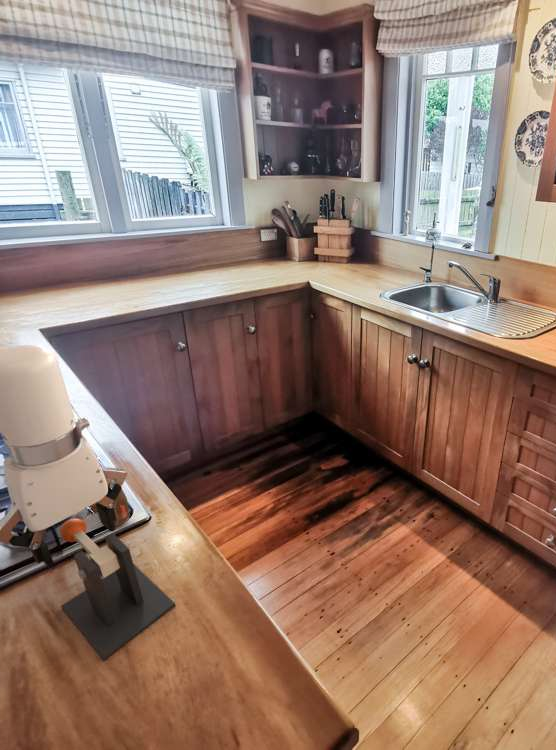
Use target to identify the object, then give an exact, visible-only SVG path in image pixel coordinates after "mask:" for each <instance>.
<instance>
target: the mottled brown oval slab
mask: <svg viewBox="0 0 556 750" xmlns="http://www.w3.org/2000/svg"><path fill="white" fill-rule="evenodd" d="M105 479H106V482H107V486H108V485H109V483H110V482H111V480H112V479H107V478H105ZM115 502H116V504H115V506H114V507H113V508H114V512H115V515H116V520H115V521H114V524H115V528H117V527H118V526H119V525H121V524H123V523H125V522H126V521H128V520H129V518H130V515H131V514H130V508H129V504H128V498H127V496H126V493H125V491H124V490H123V489H122V490H121V491H120V493H119V495H118V496H117V498H116V500H115ZM96 504H97V503H94V504H93V505H91V506H89V507H91V510H92V511H93V512H94V513H95V514H98V511H97V508H96Z"/></svg>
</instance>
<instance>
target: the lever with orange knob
mask: <svg viewBox="0 0 556 750" xmlns="http://www.w3.org/2000/svg"><path fill="white" fill-rule="evenodd" d="M87 529H88V527H87V524H86V522H85V521H84V520H83V519H82V518H77V517H76V518H70V519H68V520H66V521H65V522H63V524H62V525H61V527H60V530H59V535H60V538H61V539H62V540H63V541H65V542H68V543H78V544H79V546H80V547H82V548H83V549H84V550H85V552H86V553H88V558H89V559H90V560H91V561H92V562H93V563H94V564H95V565H96V566H97V567H98V570H99V573H100V576H101V578H102V579H104V578H105V577H107V576H108V575H110V574H111V573H113V572H114V571H116V570H118V569H119V568H120V566H119V563H118V559H117V556H116V554H115V553H113V552H112V551H111V550H110V549H109V548H108V545H107V544H105V545H103V546H102V547H99V546H98V544H96V543H95V542H94V541H93V540H92V539H91V537H89V536H88V535H87V534H86V533H87Z"/></svg>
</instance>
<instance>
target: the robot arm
mask: <svg viewBox="0 0 556 750" xmlns="http://www.w3.org/2000/svg"><path fill="white" fill-rule="evenodd" d="M88 427H90V423H89V420H88V418H87V417H82V418H77V419H76V418H75V415H74V411H73V408H72V404H71V401H70V398H69V394H68V390H67V387H66V384H65V381H64V377H63V374H62V370H61V366H60V364H59V360H58V359H57V356H56V354H55V353H54V352H53V351H52V350H51V349H49V348H47V347H45V346H41V345H35V344H27V345H15V346H9V347H4V346H3V347H2V346H0V435H1V437H2V439H3V441H4V444H5V447H6V449H7V452H8V455H9V456H8V457H6V458H5V459H4V460H3V471H4V479H5V484H6V488H7V492H8V495H9V499H10V502H11V505H12V507H11V508H10V510H8V512H7V513H6V514H5V515H4V516H3V518H2V519H0V543H1V544H2V543H3V544H6V545H7V544H8V545H11V546H12V547H20V548H29V550H30V552H31V554H32V557H33V559H34V560H35V562H36V563H37V564H41V563H44V565H45V566H46V567H47V568H48V569H50V568H52V567H54V565H55V562H54V559H53V557H52V555H51V552H50V549H49V546H48V544H47V543H46V542H45V541H44V537H45V534H46V531H47V529H48V528H50V527H52V526H54V525H56V524H58V523H60V522H62V521H64V520H66V519H68V518H70V517H71V516H73V515H76V514H77V513H79V512H81V511H83V510H85V509H86V508H87V507H89V506H91V505H93V504H94V503H97V504H96V508H97V511H98V512H97V514H98V517H99V521H100V523H101V525H102V526H104V527H105V528H106V529H107V530H108V531H109V532H114V531H116V529H117V527H115V524H114V521H115V520H116V515H115V512H114V508H113V507H114V506H115V504H116V502H115V500H116V498H117V496H118V495H119V493H120V491H121V490H123V487H122V486H123V485H124V483H125V480H126V479H127V477H128V471H125V470H124V469H123V468H121V467H120V468H118V467H106V466H101V463H100V461H99V460H98V457H97V455H96V453H95V451H94V449H93V447H92V446H91V443H90V442H89V441H88V439H87V438H86V436H84V434H83V433H82V432H83V431H84V430H85V428H88ZM105 478H107V479H112V480H111V482H110V483H109V485H108V486H107V482H106V479H105ZM20 521H23V523H24V525H25V526H24V529H23V531H15V530H14V531H13V529H14V528H15V527H16V526H17V525H18V523H19V522H20Z"/></svg>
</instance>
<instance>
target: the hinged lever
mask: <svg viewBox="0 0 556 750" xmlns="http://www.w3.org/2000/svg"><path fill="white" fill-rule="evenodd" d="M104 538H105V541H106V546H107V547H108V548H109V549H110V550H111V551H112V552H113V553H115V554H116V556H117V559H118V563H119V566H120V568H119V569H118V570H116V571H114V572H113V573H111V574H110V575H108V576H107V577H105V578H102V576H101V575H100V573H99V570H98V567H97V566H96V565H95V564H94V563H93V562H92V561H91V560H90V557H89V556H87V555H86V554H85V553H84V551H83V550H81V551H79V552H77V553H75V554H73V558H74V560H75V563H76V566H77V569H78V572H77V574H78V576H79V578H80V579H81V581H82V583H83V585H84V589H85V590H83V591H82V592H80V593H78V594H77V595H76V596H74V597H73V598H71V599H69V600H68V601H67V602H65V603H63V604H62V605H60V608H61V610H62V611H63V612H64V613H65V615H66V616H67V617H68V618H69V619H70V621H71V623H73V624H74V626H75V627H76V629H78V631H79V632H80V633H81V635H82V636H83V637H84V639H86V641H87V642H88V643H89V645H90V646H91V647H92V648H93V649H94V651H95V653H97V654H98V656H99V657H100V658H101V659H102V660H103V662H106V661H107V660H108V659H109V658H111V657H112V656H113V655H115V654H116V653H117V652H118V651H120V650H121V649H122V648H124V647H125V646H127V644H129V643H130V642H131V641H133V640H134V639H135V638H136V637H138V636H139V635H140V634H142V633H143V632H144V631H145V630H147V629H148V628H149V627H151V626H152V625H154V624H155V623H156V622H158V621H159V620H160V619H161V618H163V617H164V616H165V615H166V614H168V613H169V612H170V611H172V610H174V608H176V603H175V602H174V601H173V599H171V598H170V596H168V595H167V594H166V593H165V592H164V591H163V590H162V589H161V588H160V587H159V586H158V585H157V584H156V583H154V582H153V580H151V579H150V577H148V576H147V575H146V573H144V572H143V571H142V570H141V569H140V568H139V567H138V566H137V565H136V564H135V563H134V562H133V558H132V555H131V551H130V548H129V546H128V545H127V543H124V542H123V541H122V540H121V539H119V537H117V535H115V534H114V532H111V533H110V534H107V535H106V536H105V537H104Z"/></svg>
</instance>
